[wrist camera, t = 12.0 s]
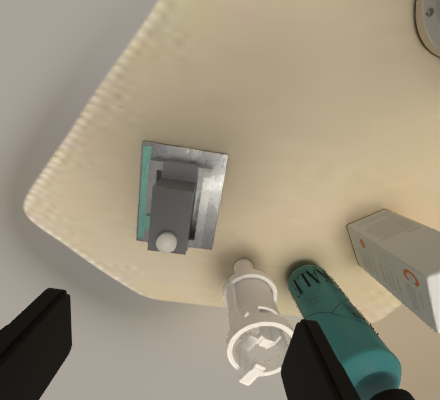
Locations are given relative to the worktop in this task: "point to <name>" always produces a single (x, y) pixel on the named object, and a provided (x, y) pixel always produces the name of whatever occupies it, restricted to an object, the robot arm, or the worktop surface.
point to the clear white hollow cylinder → (253, 321)
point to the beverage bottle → (348, 335)
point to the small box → (401, 260)
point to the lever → (173, 208)
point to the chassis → (205, 193)
